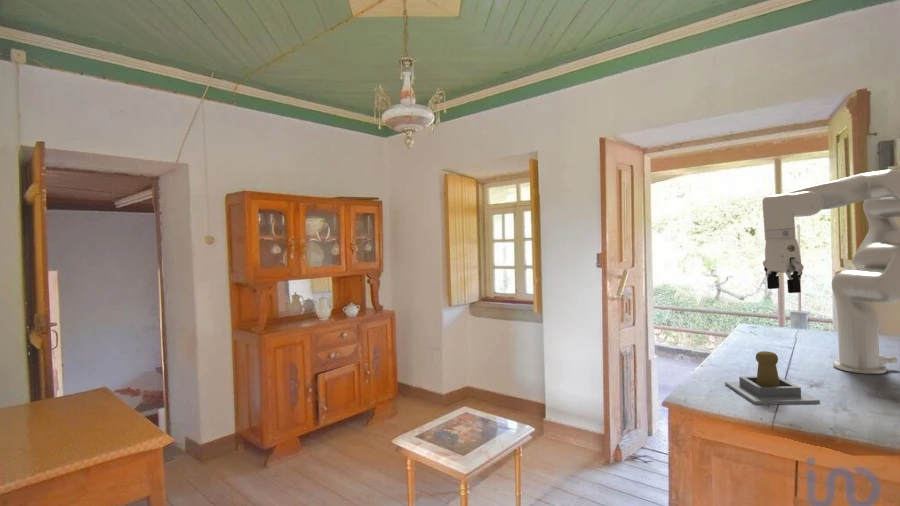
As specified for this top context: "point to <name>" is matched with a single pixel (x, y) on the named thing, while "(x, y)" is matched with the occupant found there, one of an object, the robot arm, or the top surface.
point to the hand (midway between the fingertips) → (783, 290)
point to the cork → (767, 369)
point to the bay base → (771, 392)
